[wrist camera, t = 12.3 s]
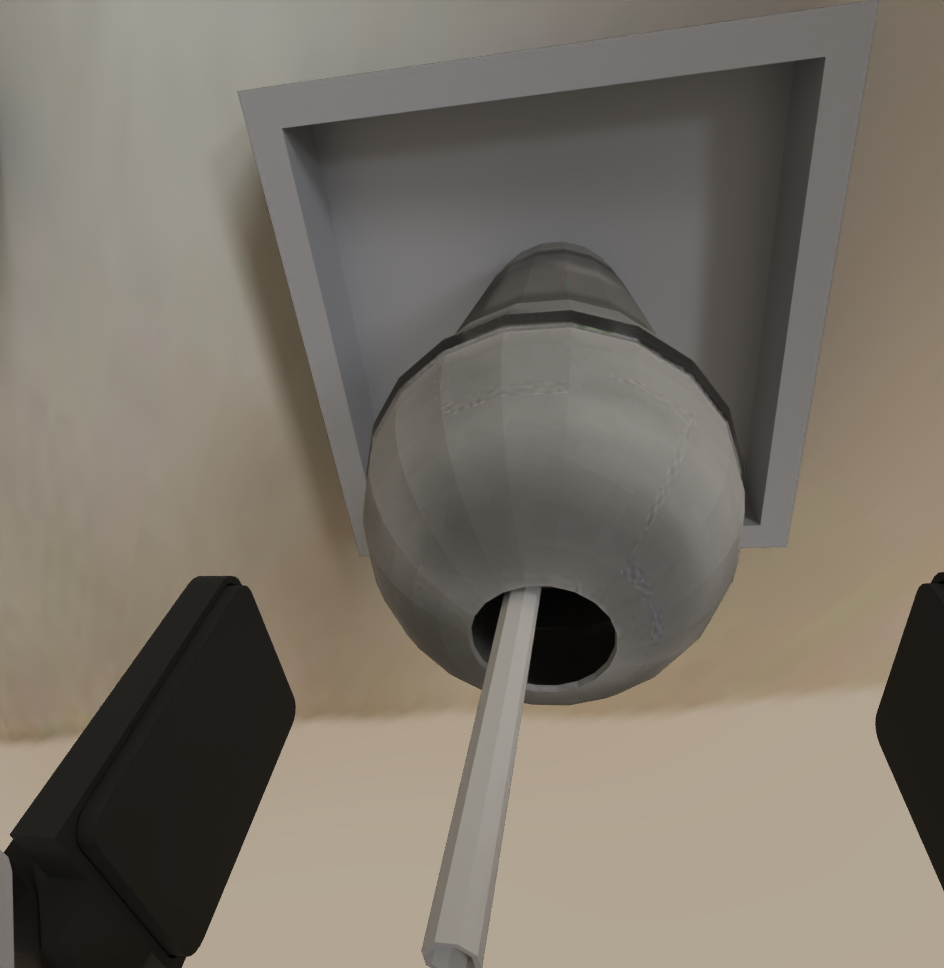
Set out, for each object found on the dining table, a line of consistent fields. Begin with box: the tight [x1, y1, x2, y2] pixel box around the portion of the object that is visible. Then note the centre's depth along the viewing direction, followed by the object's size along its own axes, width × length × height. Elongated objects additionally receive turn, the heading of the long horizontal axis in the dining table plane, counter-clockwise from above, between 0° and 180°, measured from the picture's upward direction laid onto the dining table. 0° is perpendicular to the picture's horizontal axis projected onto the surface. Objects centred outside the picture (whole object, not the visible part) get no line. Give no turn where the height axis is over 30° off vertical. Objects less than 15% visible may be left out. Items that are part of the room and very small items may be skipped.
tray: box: [237, 0, 879, 556], centre depth 22 cm, size 16×16×4 cm
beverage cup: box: [363, 242, 745, 968], centre depth 14 cm, size 7×7×20 cm
